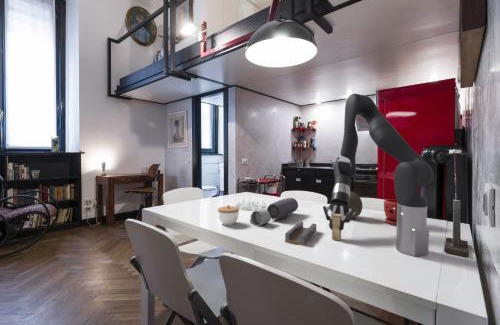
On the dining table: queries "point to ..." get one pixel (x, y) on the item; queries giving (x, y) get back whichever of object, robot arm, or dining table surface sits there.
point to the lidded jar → (228, 214)
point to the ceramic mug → (260, 217)
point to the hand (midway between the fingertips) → (335, 229)
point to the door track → (300, 234)
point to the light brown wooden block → (336, 226)
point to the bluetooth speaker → (282, 208)
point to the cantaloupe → (355, 204)
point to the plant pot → (390, 211)
